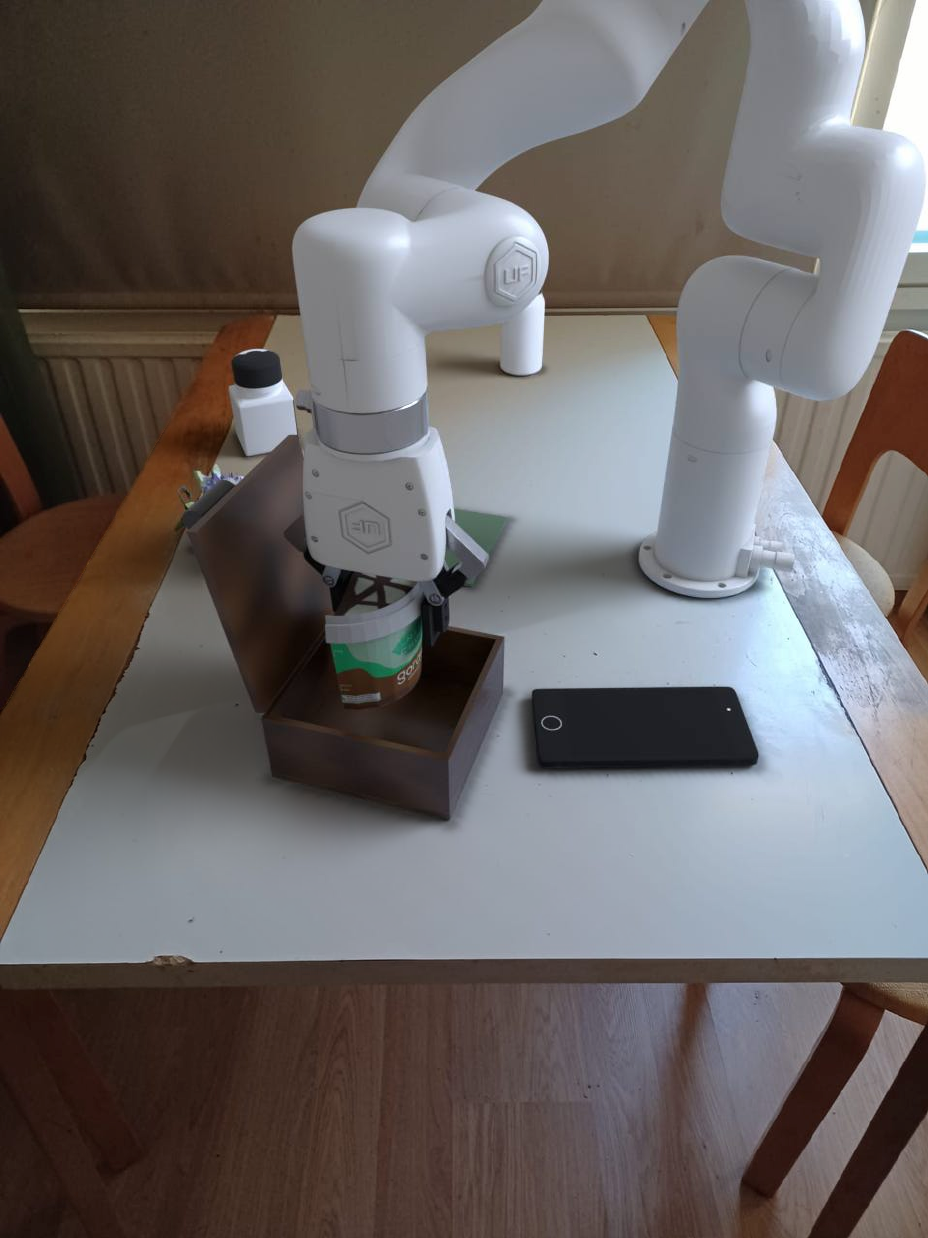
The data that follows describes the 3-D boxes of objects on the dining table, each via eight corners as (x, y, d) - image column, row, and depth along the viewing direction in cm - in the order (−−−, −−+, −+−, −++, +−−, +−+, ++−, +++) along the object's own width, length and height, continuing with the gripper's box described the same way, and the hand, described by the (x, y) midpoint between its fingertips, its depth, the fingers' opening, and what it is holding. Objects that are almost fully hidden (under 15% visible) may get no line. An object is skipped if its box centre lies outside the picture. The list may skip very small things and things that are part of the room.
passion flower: (267, 593, 103) (261, 555, 92) (168, 579, 102) (151, 539, 90) (281, 502, 106) (278, 455, 95) (187, 489, 105) (172, 439, 94)
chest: (503, 693, 81) (504, 636, 77) (449, 820, 70) (448, 761, 66) (347, 661, 85) (340, 604, 81) (272, 777, 73) (260, 717, 69)
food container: (415, 732, 69) (407, 630, 62) (337, 722, 70) (322, 620, 63) (449, 631, 78) (446, 533, 72) (381, 623, 79) (371, 526, 73)
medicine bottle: (300, 448, 120) (289, 360, 112) (246, 457, 118) (231, 368, 110) (288, 426, 125) (276, 340, 118) (236, 434, 123) (221, 348, 116)
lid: (297, 434, 72) (240, 435, 73) (196, 532, 60) (130, 530, 62) (344, 601, 81) (292, 598, 82) (264, 714, 69) (205, 708, 71)
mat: (507, 520, 105) (507, 517, 105) (471, 587, 94) (471, 584, 94) (348, 494, 110) (347, 491, 110) (297, 555, 99) (296, 552, 99)
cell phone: (530, 696, 81) (531, 688, 80) (732, 693, 81) (734, 685, 80) (538, 769, 74) (538, 761, 73) (759, 766, 74) (761, 758, 73)
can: (494, 363, 142) (495, 285, 135) (533, 358, 144) (536, 281, 136) (508, 379, 137) (510, 299, 130) (548, 373, 139) (552, 294, 132)
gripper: (227, 424, 59) (270, 637, 70) (481, 458, 55) (484, 679, 66) (279, 378, 65) (311, 582, 76) (513, 405, 60) (511, 617, 71)
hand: (391, 625), depth 71 cm, fingers closed on food container, 6 cm apart
